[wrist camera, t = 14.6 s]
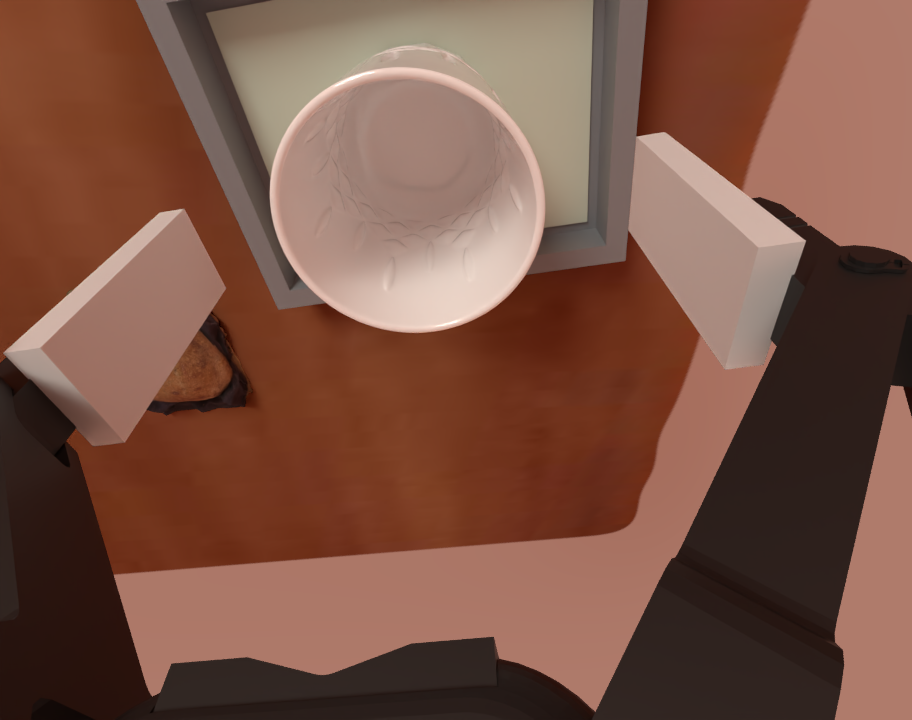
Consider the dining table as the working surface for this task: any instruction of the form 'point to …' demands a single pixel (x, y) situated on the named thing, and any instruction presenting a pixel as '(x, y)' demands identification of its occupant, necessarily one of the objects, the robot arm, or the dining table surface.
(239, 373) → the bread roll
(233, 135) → the gray divided tray
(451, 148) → the white cup
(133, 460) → the dining table surface
